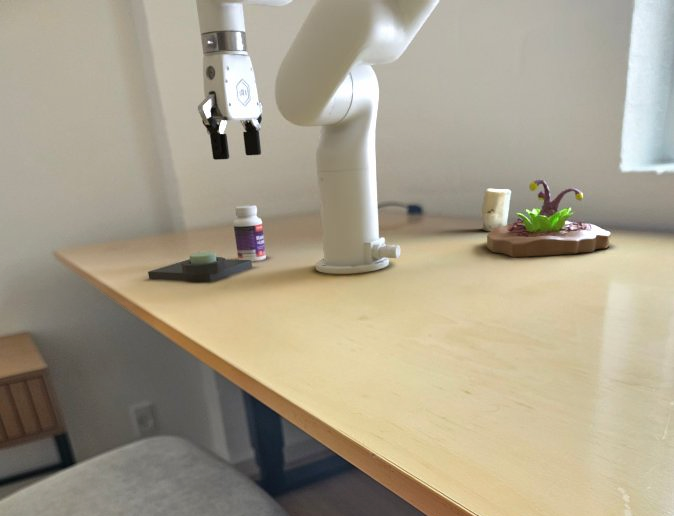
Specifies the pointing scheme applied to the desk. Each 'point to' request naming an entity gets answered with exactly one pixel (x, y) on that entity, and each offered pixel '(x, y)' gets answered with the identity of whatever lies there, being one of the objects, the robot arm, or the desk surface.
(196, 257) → the tare button
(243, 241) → the pill bottle
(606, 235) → the plant
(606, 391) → the desk surface
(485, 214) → the white speckled cylinder
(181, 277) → the scale
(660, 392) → the desk surface
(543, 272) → the desk surface
